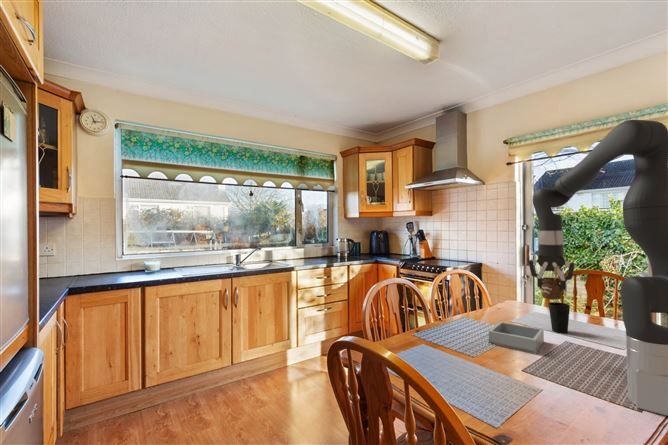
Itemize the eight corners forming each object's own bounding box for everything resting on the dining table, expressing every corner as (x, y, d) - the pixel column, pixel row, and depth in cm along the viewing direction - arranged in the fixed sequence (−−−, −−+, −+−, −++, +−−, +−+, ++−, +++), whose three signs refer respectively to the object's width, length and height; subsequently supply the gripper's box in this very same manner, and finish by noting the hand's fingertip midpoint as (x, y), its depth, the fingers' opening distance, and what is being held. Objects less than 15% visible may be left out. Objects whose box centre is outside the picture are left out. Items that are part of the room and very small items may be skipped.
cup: (553, 333, 135) (552, 305, 135) (546, 328, 142) (545, 301, 142) (574, 335, 132) (573, 306, 133) (566, 329, 140) (565, 302, 140)
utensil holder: (553, 295, 115) (552, 263, 115) (566, 299, 109) (565, 265, 109) (537, 296, 115) (537, 263, 115) (549, 300, 109) (549, 266, 109)
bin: (535, 354, 114) (535, 340, 114) (488, 343, 125) (488, 331, 125) (543, 341, 125) (543, 329, 125) (500, 333, 136) (500, 321, 136)
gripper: (525, 243, 114) (526, 289, 114) (574, 244, 105) (575, 294, 104) (529, 242, 120) (530, 285, 120) (576, 243, 110) (578, 290, 110)
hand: (551, 289), depth 112 cm, fingers closed on utensil holder, 5 cm apart
